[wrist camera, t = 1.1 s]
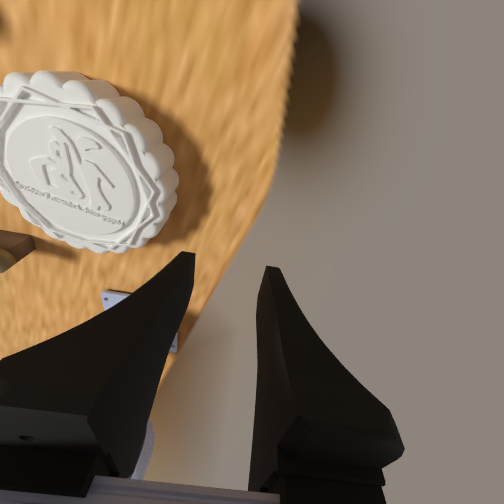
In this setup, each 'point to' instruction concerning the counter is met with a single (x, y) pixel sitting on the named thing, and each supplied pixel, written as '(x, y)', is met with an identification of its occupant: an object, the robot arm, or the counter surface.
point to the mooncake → (83, 161)
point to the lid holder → (13, 248)
